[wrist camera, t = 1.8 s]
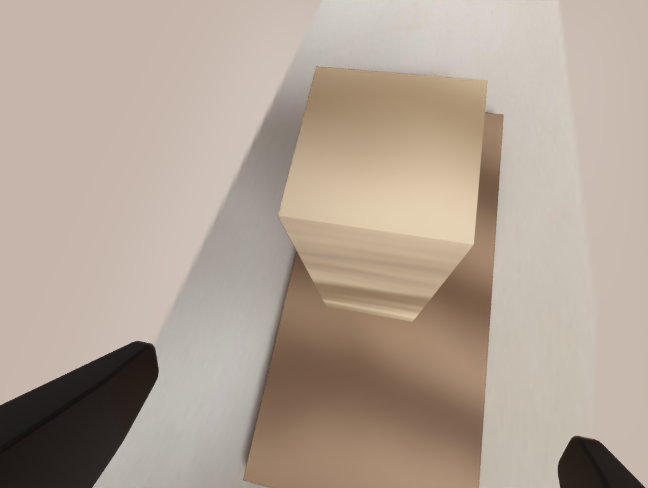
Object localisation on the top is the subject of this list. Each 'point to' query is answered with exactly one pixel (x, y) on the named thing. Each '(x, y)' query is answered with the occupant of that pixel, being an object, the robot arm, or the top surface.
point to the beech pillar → (385, 186)
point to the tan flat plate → (383, 378)
